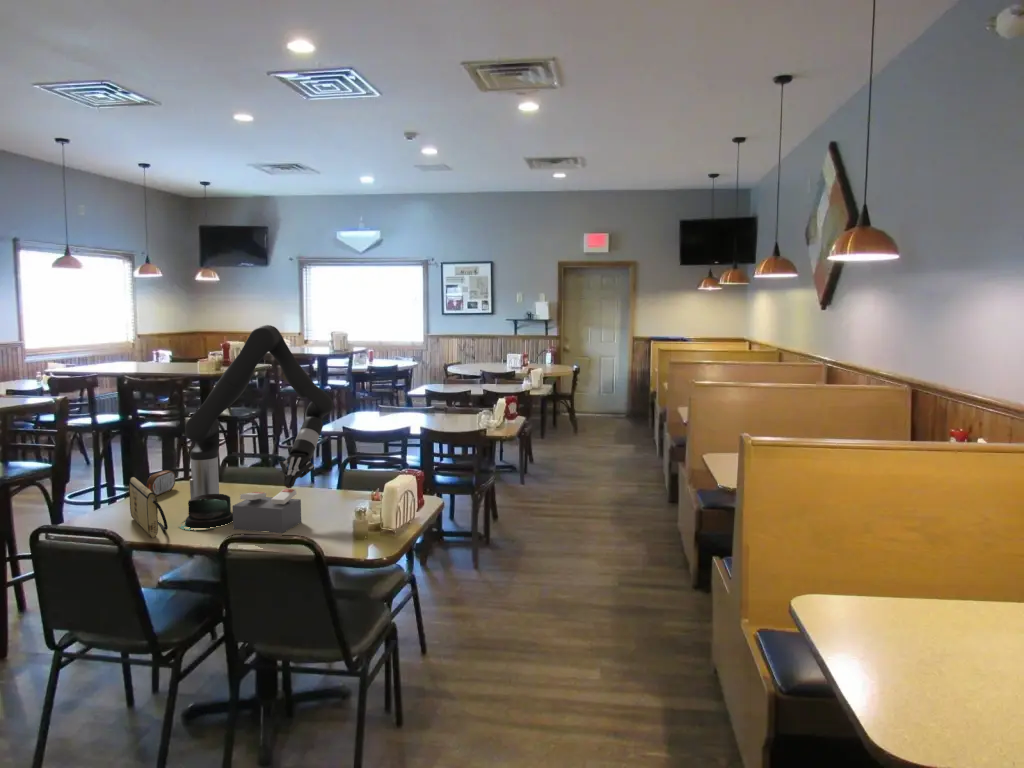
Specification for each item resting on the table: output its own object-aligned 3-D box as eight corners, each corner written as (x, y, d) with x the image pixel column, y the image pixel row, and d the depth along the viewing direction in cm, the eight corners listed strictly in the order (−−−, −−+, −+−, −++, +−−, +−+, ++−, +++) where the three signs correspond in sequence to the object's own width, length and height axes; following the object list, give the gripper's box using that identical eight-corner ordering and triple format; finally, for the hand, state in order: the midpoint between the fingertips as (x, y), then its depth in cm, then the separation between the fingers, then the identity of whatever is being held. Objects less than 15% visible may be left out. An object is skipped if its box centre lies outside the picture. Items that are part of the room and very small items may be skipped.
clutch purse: (174, 535, 223) (171, 490, 221) (150, 540, 218) (147, 494, 216) (151, 514, 245) (148, 473, 243) (129, 518, 241) (126, 476, 239)
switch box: (254, 518, 241) (253, 494, 240) (301, 522, 237) (300, 497, 236) (233, 529, 229) (232, 503, 228) (282, 533, 225) (281, 507, 224)
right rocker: (284, 493, 236) (283, 488, 236) (296, 494, 235) (295, 489, 235) (271, 503, 229) (271, 498, 228) (284, 504, 228) (283, 499, 227)
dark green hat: (234, 510, 251) (233, 485, 249) (247, 525, 234) (246, 498, 233) (174, 520, 239) (172, 494, 238) (184, 535, 223) (182, 507, 222)
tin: (170, 488, 280) (169, 467, 279) (177, 488, 280) (176, 468, 279) (145, 498, 266) (144, 476, 265) (153, 498, 265) (152, 477, 264)
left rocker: (254, 496, 237) (254, 491, 237) (265, 497, 236) (266, 492, 236) (240, 499, 229) (240, 493, 229) (252, 500, 228) (252, 494, 228)
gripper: (284, 437, 243) (265, 480, 233) (318, 439, 240) (301, 482, 230) (292, 449, 249) (275, 491, 238) (326, 451, 246) (310, 493, 235)
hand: (288, 486), depth 234 cm, fingers closed
